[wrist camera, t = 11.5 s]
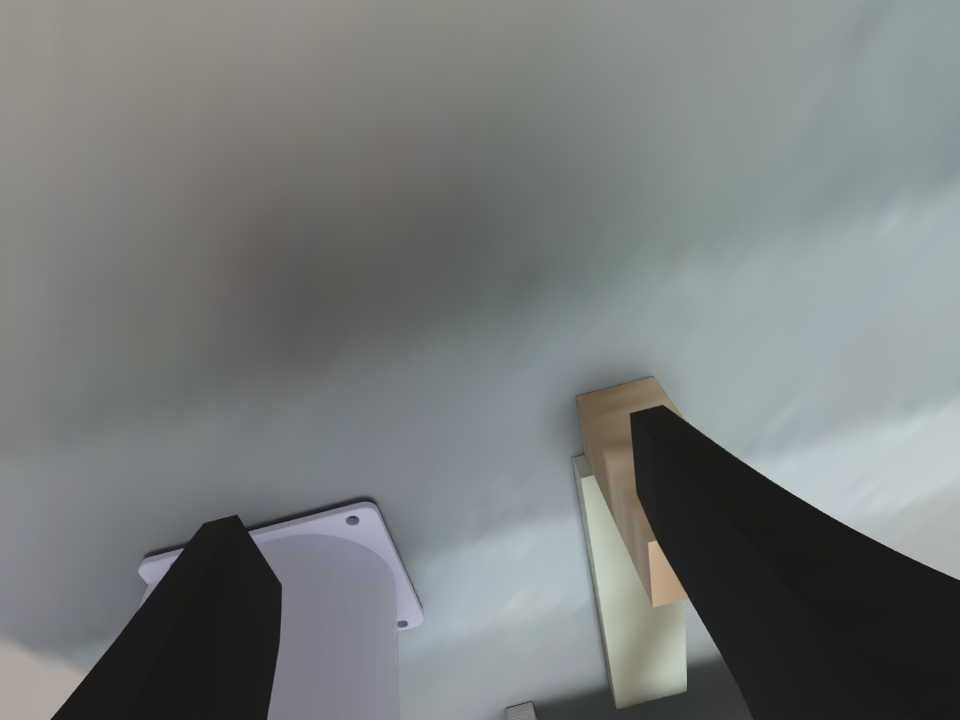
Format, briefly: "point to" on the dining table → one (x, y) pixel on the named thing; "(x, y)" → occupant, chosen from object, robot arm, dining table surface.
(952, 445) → the dining table surface
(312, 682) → the robot arm
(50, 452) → the dining table surface
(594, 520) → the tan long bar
